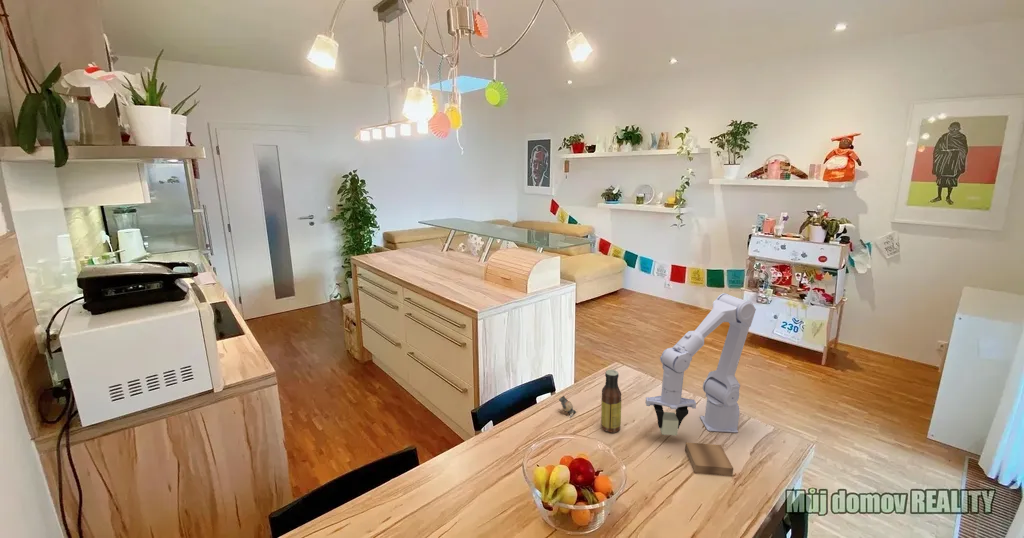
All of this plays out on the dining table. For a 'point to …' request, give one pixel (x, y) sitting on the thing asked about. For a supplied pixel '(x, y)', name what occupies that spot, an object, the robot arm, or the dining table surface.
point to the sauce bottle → (611, 403)
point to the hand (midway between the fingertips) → (668, 426)
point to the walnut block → (708, 459)
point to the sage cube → (669, 424)
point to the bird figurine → (567, 406)
